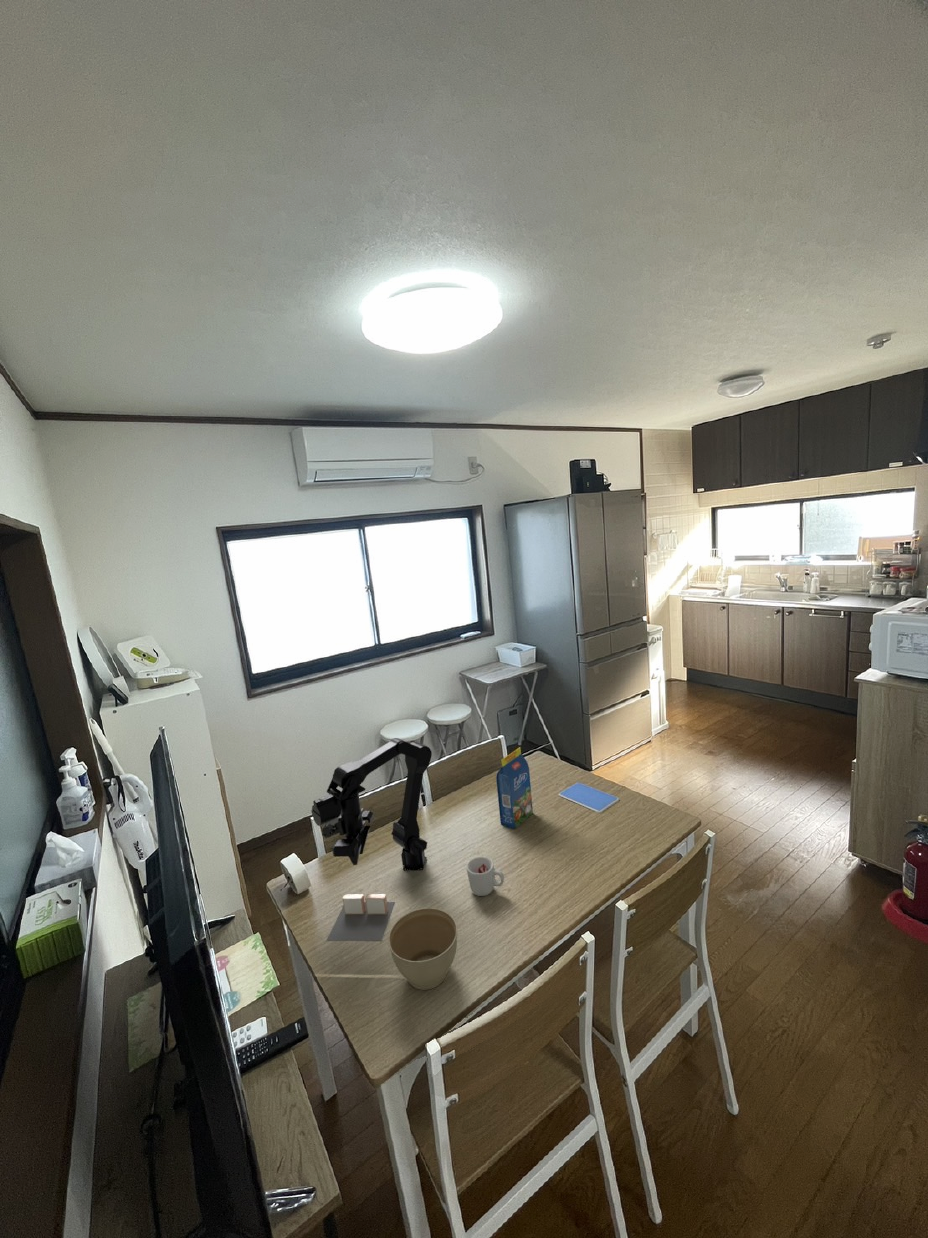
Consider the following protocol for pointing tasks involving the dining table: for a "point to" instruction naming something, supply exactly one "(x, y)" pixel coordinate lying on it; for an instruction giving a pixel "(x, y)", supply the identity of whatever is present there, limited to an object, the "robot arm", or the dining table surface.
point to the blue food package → (514, 790)
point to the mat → (360, 926)
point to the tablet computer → (589, 797)
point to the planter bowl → (424, 946)
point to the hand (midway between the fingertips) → (358, 859)
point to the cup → (482, 875)
